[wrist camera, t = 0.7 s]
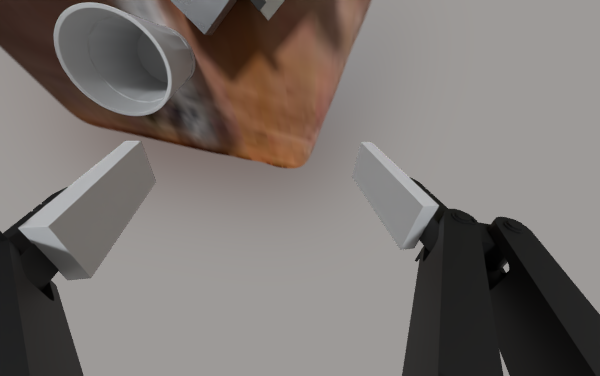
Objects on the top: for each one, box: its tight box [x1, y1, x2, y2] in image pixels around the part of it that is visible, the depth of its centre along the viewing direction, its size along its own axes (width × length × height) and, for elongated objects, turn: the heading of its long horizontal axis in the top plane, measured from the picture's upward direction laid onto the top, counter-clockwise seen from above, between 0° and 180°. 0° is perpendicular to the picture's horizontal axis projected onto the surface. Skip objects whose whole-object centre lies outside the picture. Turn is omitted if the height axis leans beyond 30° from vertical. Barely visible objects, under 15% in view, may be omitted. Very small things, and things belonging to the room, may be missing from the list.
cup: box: [54, 2, 195, 116], centre depth 22 cm, size 8×8×12 cm
